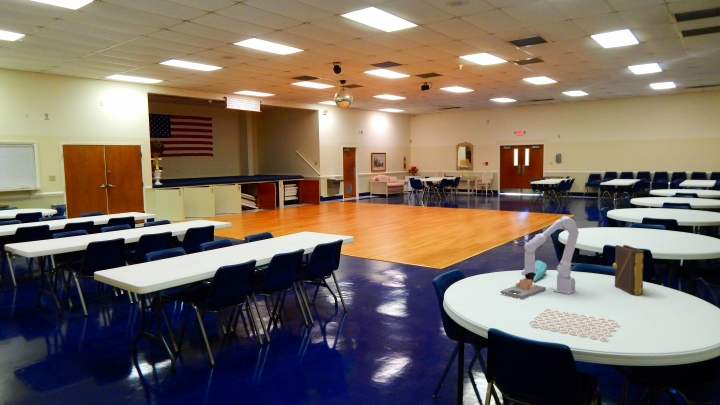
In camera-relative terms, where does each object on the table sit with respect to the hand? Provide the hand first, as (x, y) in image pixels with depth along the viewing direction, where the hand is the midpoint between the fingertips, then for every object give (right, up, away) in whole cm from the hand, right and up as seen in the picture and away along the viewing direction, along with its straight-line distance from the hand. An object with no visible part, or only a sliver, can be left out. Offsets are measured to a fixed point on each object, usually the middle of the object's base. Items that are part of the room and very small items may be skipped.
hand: (529, 285), depth 277 cm
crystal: (+16, 0, +30) cm, 34 cm away
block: (-3, -1, -2) cm, 4 cm away
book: (+55, -2, -6) cm, 55 cm away
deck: (-5, -4, -4) cm, 8 cm away
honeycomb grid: (0, -9, -58) cm, 58 cm away
